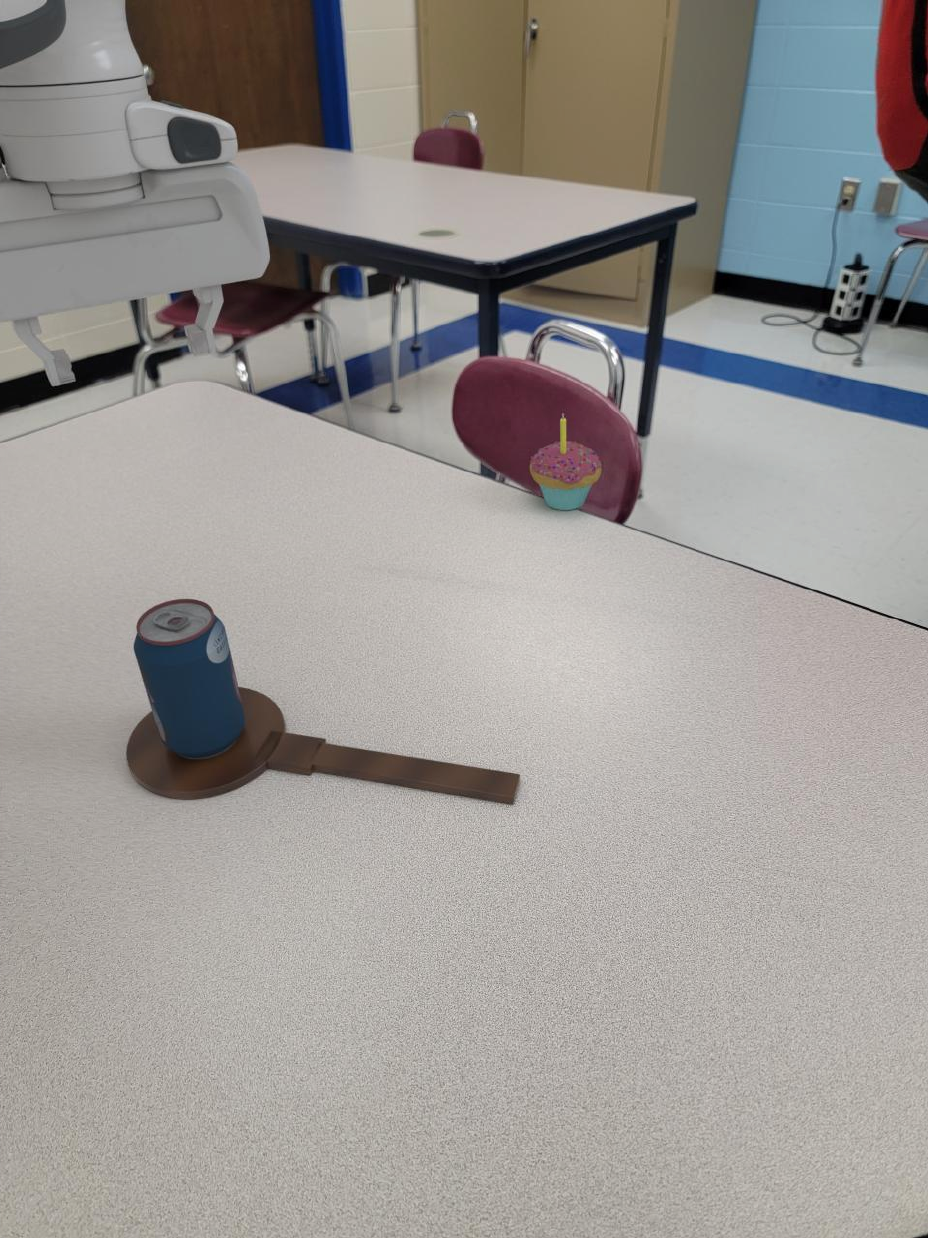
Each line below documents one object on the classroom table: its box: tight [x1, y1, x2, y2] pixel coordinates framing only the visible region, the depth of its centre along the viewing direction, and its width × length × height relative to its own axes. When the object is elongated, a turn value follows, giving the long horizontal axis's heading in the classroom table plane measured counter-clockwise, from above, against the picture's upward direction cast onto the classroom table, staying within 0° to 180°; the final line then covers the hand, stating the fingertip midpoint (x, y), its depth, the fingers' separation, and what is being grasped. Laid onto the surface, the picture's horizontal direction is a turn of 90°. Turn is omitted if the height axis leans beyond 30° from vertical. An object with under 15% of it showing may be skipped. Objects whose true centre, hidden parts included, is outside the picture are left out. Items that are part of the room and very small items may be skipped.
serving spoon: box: [125, 686, 521, 805], centre depth 74 cm, size 33×13×1 cm, turn 76°
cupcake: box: [529, 412, 603, 511], centre depth 105 cm, size 9×8×12 cm
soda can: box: [133, 598, 245, 759], centre depth 72 cm, size 7×7×12 cm
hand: (134, 366), depth 61 cm, fingers open, 8 cm apart
